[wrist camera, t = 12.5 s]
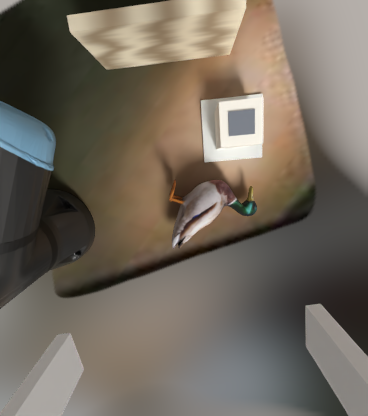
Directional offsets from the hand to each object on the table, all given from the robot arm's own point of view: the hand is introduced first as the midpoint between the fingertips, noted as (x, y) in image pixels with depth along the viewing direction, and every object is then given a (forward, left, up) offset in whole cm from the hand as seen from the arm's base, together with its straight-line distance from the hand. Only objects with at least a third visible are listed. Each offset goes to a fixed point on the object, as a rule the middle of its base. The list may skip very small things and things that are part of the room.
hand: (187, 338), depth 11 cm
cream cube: (+8, +14, -27) cm, 32 cm away
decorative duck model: (+3, 0, -28) cm, 28 cm away
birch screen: (-2, +26, -28) cm, 38 cm away
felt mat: (+8, +14, -28) cm, 32 cm away
